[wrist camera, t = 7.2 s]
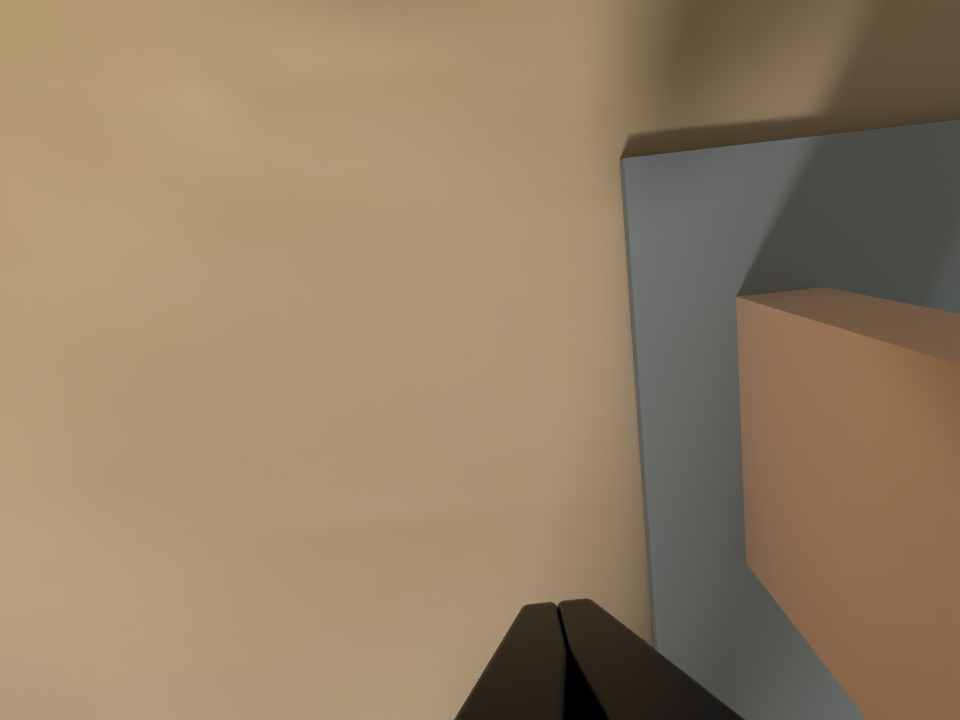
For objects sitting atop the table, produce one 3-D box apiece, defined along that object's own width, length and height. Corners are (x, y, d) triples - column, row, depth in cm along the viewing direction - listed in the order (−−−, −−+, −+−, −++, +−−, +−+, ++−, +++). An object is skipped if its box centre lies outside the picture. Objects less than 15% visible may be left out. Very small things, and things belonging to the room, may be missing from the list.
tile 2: (829, 554, 15) (1192, 903, 8) (746, 563, 15) (1022, 919, 8) (826, 286, 14) (1253, 370, 6) (736, 296, 14) (1052, 392, 6)
